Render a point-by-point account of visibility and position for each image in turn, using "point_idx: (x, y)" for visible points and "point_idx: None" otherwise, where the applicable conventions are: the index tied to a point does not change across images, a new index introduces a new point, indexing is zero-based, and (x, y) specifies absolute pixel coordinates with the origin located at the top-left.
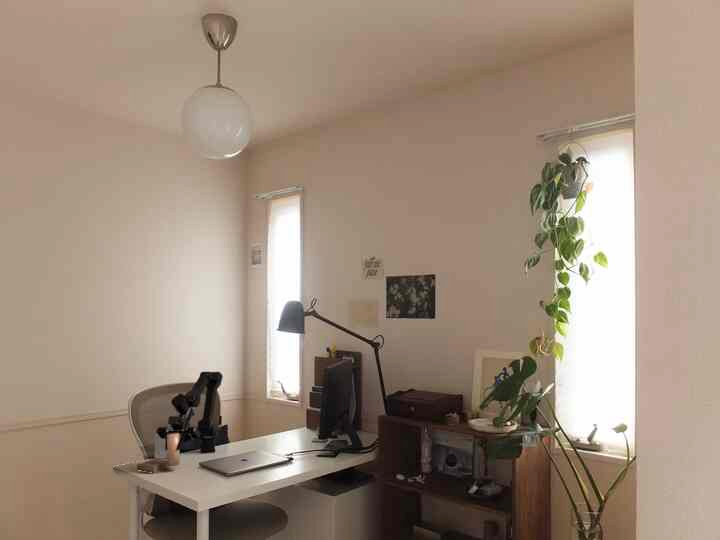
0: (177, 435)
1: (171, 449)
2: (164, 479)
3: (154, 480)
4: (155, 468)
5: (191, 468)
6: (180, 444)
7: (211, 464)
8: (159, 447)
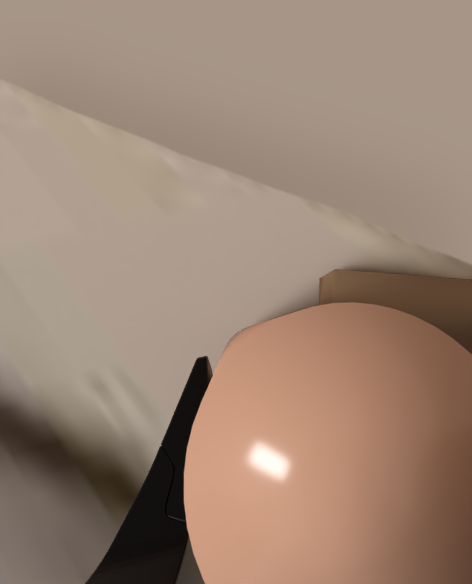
0: (191, 456)
1: (253, 325)
2: (185, 210)
3: (224, 186)
4: (328, 284)
5: None
6: (178, 416)
7: (102, 549)
8: None
